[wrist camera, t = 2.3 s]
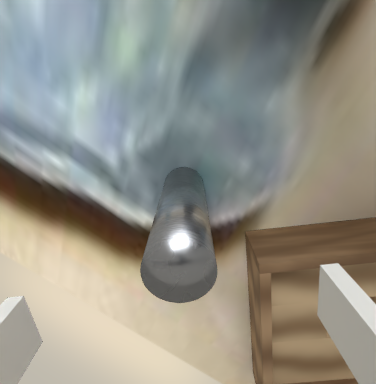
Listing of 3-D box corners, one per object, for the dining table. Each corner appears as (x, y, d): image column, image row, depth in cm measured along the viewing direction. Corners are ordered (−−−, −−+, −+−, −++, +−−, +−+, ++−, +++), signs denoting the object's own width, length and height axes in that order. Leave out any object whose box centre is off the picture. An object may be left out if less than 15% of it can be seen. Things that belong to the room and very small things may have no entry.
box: (245, 231, 28) (259, 264, 23) (454, 208, 27) (523, 237, 22) (253, 372, 36) (264, 423, 30) (418, 358, 35) (462, 408, 29)
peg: (161, 169, 26) (133, 243, 13) (201, 164, 26) (213, 234, 13) (167, 206, 28) (147, 306, 14) (205, 201, 27) (220, 299, 14)
